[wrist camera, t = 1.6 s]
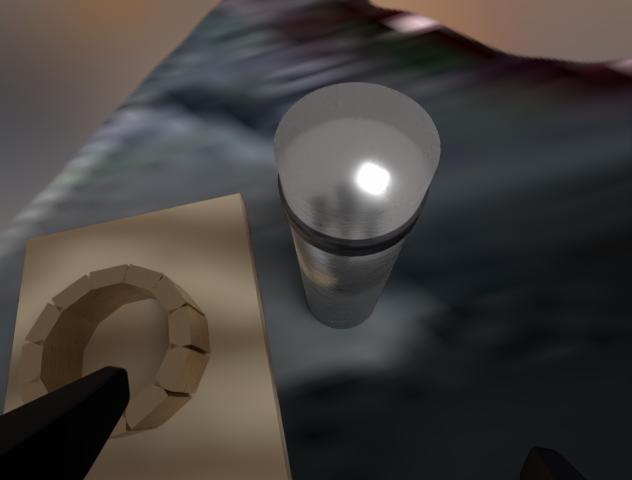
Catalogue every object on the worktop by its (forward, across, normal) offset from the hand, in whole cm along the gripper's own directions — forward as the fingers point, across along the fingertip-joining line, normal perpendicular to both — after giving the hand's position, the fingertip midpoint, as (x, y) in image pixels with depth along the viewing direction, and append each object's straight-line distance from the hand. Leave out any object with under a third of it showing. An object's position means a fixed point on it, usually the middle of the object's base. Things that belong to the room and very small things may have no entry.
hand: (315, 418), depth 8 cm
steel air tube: (+14, 0, +4) cm, 14 cm away
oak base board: (+10, +11, +8) cm, 17 cm away
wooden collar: (+9, +11, +7) cm, 16 cm away
